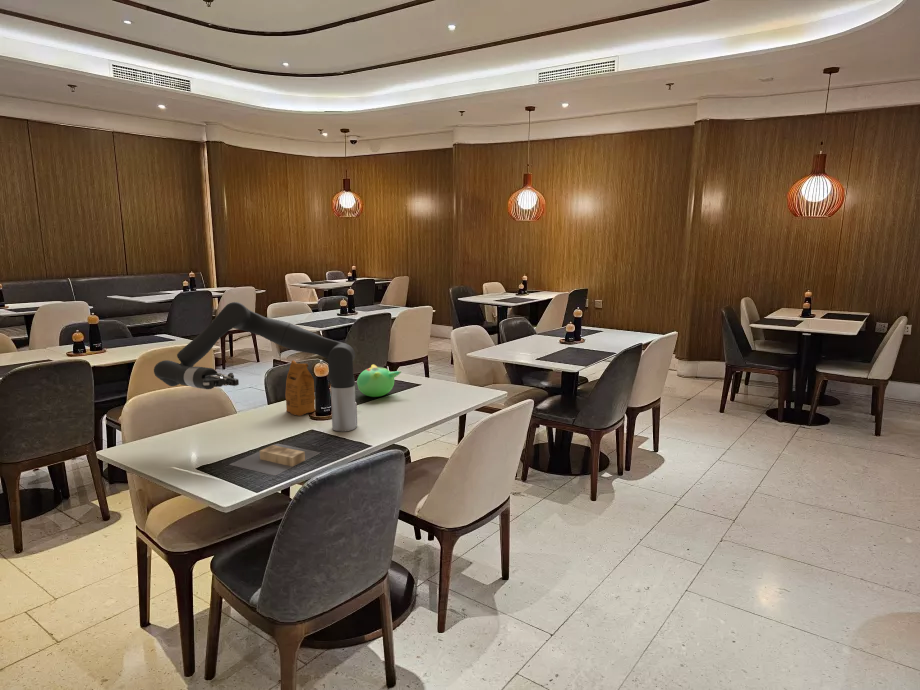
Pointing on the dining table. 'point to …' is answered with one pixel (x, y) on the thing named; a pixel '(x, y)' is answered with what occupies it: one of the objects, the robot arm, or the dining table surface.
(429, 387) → the dining table surface
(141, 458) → the dining table surface
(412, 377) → the dining table surface
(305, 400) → the coffee package
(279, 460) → the oak card block
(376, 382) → the toy bird
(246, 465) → the charcoal placemat
